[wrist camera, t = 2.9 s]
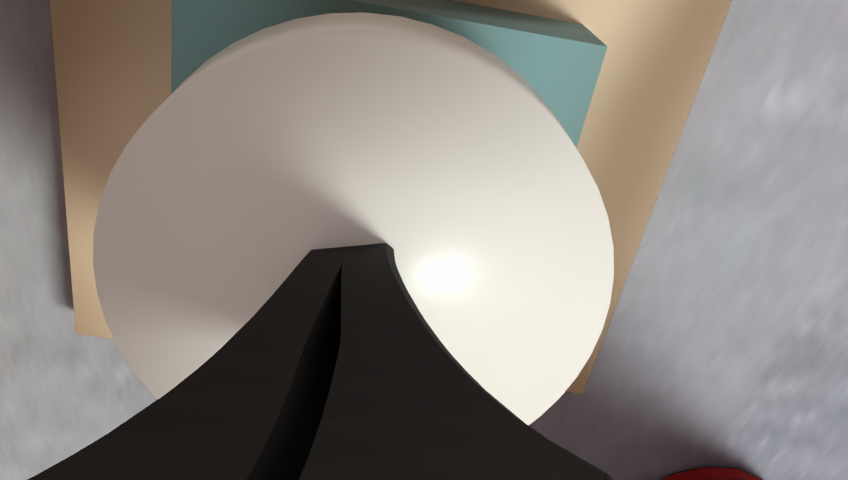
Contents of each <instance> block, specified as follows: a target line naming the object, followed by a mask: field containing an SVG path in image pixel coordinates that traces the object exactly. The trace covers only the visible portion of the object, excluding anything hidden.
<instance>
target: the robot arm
mask: <svg viewBox="0 0 848 480" xmlns="http://www.w3.org/2000/svg"><path fill="white" fill-rule="evenodd" d="M28 480H612V478H611V477H610V476H609V475H608V474H606V473H605V472H603V471H602V470H600V469H598V468H596V467H595V466H593V465H591V464H589V463H588V462H586V461H584V460H583V459H581V458H579V457H577V456H576V455H574V454H572V453H570V452H569V451H567V450H565V449H563V448H562V447H560V446H558V445H557V444H555V443H553V442H551V441H550V440H548V439H547V438H545V437H544V436H542V435H541V434H540V433H538V432H537V431H535V430H534V429H533V428H531V427H530V426H528V425H527V424H526V423H524V422H523V421H522V420H521V419H519V418H518V417H517V416H516V415H515V414H513V413H512V412H511V411H510V410H509V409H508V408H506V407H505V406H504V405H503V404H502V403H500V402H499V401H498V400H497V399H496V398H494V397H493V396H492V395H491V394H490V393H488V392H487V391H486V390H485V389H484V388H483V387H482V386H481V385H480V384H479V383H478V382H477V381H476V380H475V379H474V378H473V377H472V376H471V375H470V374H469V373H468V372H467V371H466V370H465V369H464V368H463V367H462V366H461V365H460V363H459V362H458V361H457V360H456V359H455V358H454V357H453V356H452V355H451V353H450V352H449V351H448V350H447V349H446V347H445V346H444V345H443V344H442V342H441V341H440V340H439V338H438V337H437V336H436V334H435V333H434V332H433V330H432V329H431V327H430V326H429V325H428V323H427V322H426V320H425V319H424V317H423V316H422V314H421V313H420V311H419V310H418V308H417V306H416V304H415V303H414V301H413V299H412V298H411V296H410V294H409V292H408V291H407V289H406V287H405V285H404V283H403V281H402V278H401V276H400V274H399V271H398V269H397V266H396V263H395V256H394V249H393V248H392V247H391V246H389V245H388V244H387V243H379V244H368V245H357V246H346V247H335V248H324V249H313V250H310V252H309V253H308V254H307V255H306V256H305V257H304V258H303V259H302V261H301V262H300V263H299V264H298V265H297V266H296V268H295V269H294V270H293V271H292V272H291V273H290V275H289V276H288V277H287V278H286V279H285V281H284V282H283V283H282V284H281V285H280V286H279V288H278V289H277V290H276V291H275V292H274V293H273V295H272V296H271V297H270V298H269V299H268V300H267V301H266V302H265V304H264V305H263V306H262V307H261V308H260V309H259V310H258V311H257V312H256V314H255V315H254V316H253V317H252V318H251V319H250V320H249V321H248V322H247V323H246V324H245V325H244V326H243V327H242V328H241V329H240V330H239V331H238V332H237V333H236V334H235V335H234V336H233V337H232V338H231V339H230V340H229V341H228V342H227V343H226V344H225V345H224V346H223V347H222V348H221V349H219V350H218V351H217V352H216V353H215V354H214V355H213V356H212V357H211V358H209V359H208V360H207V361H206V362H205V363H204V364H203V365H201V366H200V367H199V368H198V369H197V370H195V371H194V372H193V373H192V374H190V375H189V376H188V377H187V378H185V379H184V380H183V381H182V382H180V383H179V384H178V385H177V386H175V387H174V388H173V389H172V390H170V391H169V392H168V393H166V394H165V395H164V396H162V397H161V398H159V399H158V400H157V401H155V402H154V403H152V404H151V405H149V406H148V407H146V408H145V409H143V410H142V411H140V412H139V413H138V414H136V415H135V416H133V417H132V418H130V419H129V420H127V421H126V422H124V423H123V424H121V425H120V426H119V427H117V428H116V429H114V430H113V431H111V432H110V433H108V434H107V435H105V436H103V437H102V438H100V439H98V440H97V441H95V442H93V443H92V444H90V445H88V446H87V447H85V448H83V449H82V450H80V451H78V452H77V453H75V454H73V455H72V456H70V457H68V458H66V459H65V460H63V461H61V462H59V463H57V464H56V465H54V466H52V467H50V468H48V469H47V470H45V471H43V472H41V473H40V474H38V475H36V476H34V477H32V478H30V479H28Z"/></svg>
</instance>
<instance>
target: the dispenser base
mask: <svg viewBox="0 0 848 480" xmlns="http://www.w3.org/2000/svg"><path fill="white" fill-rule="evenodd" d="M731 2H732V0H50V13H51V26H52V39H53V51H54V64H55V77H56V90H57V102H58V115H59V128H60V141H61V153H62V166H63V179H64V192H65V204H66V217H67V230H68V243H69V255H70V268H71V281H72V294H73V306H74V319H75V332H76V334H81V335H89V336H98V337H106V338H113V336H112V334H111V332H110V330H109V328H108V325H107V323H106V321H105V318H104V315H103V311H102V308H101V305H100V301H99V298H98V295H97V290H96V282H95V275H94V268H93V234H94V228H95V223H96V217H97V212H98V207H99V202H100V200H101V197H102V194H103V191H104V189H105V186H106V183H107V180H108V178H109V175H110V173H111V171H112V169H113V167H114V166H115V164H116V162H117V160H118V159H119V157H120V155H121V153H122V152H123V150H124V148H125V146H126V145H127V143H128V142H129V141H130V140H131V138H132V137H133V136H134V135H135V133H136V132H137V131H138V130H139V129H140V127H141V126H142V125H143V124H144V122H145V121H146V120H147V119H148V118H149V116H150V115H151V114H152V113H153V112H154V111H155V110H156V109H157V108H158V107H159V106H160V105H161V104H162V103H163V102H164V101H165V100H166V99H167V98H168V97H169V96H170V95H171V94H172V93H173V92H174V91H175V90H176V89H177V88H178V87H179V86H180V84H181V83H182V82H183V81H185V80H186V79H187V78H188V77H189V76H190V75H191V74H192V73H193V72H194V71H196V70H197V69H198V68H199V67H200V66H201V65H202V64H203V63H204V62H205V61H207V60H208V59H210V58H211V57H213V56H214V55H216V54H217V53H219V52H220V51H222V50H223V49H225V48H226V47H228V46H229V45H231V44H232V43H234V42H236V41H238V40H241V39H243V38H245V37H247V36H249V35H251V34H253V33H255V32H258V31H260V30H262V29H264V28H268V27H271V26H274V25H277V24H280V23H284V22H287V21H290V20H293V19H298V18H304V17H310V16H316V15H322V14H328V13H362V12H365V13H374V14H383V15H392V16H400V17H404V18H408V19H412V20H416V21H420V22H424V23H428V24H432V25H435V26H438V27H440V28H443V29H445V30H448V31H450V32H453V33H455V34H458V35H460V36H463V37H465V38H467V39H469V40H470V41H472V42H474V43H476V44H477V45H479V46H481V47H483V48H484V49H486V50H488V51H490V52H492V53H493V54H495V55H496V56H497V57H499V58H500V59H501V60H503V61H504V62H505V63H506V64H508V65H509V66H510V67H512V68H513V69H514V70H516V71H517V72H518V73H519V74H520V75H521V76H522V77H523V78H524V79H525V80H526V81H527V82H528V83H529V84H530V85H531V86H532V87H533V88H534V89H535V90H536V91H537V92H538V93H539V94H540V95H541V96H542V98H543V99H544V100H545V102H546V103H547V104H548V106H549V107H550V109H551V110H552V111H553V113H554V114H555V115H556V117H557V118H558V119H559V121H560V123H561V124H562V126H563V128H564V129H565V131H566V132H567V134H568V136H569V137H570V139H571V140H572V142H573V144H574V145H575V147H576V149H577V150H578V152H579V153H580V155H581V157H582V158H583V160H584V162H585V164H586V166H587V168H588V170H589V171H590V173H591V175H592V177H593V179H594V181H595V183H596V185H597V187H598V189H599V192H600V194H601V197H602V200H603V203H604V206H605V209H606V212H607V215H608V218H609V224H610V230H611V235H612V241H613V247H614V279H613V287H612V294H611V301H610V306H609V309H608V313H607V316H606V320H605V323H604V326H603V330H602V332H601V334H600V336H599V339H598V341H597V343H596V345H595V347H594V350H593V352H592V354H591V356H590V357H589V359H588V361H587V362H586V364H585V365H584V367H583V368H582V370H581V372H580V373H579V375H578V376H577V378H576V379H575V380H574V381H573V383H572V384H571V385H570V386H569V387H568V389H567V390H566V391H565V392H567V393H576V394H583V392H584V389H585V387H586V384H587V381H588V379H589V376H590V373H591V371H592V368H593V365H594V363H595V360H596V358H597V355H598V352H599V350H600V347H601V344H602V342H603V339H604V336H605V334H606V331H607V329H608V326H609V323H610V321H611V318H612V315H613V313H614V310H615V308H616V305H617V302H618V300H619V297H620V294H621V292H622V289H623V286H624V284H625V281H626V279H627V276H628V273H629V271H630V268H631V265H632V263H633V260H634V257H635V255H636V252H637V250H638V247H639V244H640V242H641V239H642V236H643V234H644V231H645V228H646V226H647V223H648V221H649V218H650V215H651V213H652V210H653V207H654V205H655V202H656V200H657V197H658V194H659V192H660V189H661V186H662V184H663V181H664V178H665V176H666V173H667V171H668V168H669V165H670V163H671V160H672V157H673V155H674V152H675V149H676V147H677V144H678V142H679V139H680V136H681V134H682V131H683V128H684V126H685V123H686V120H687V118H688V115H689V113H690V110H691V107H692V105H693V102H694V99H695V97H696V94H697V91H698V89H699V86H700V84H701V81H702V78H703V76H704V73H705V70H706V68H707V65H708V63H709V60H710V57H711V55H712V52H713V49H714V47H715V44H716V41H717V39H718V36H719V34H720V31H721V28H722V26H723V23H724V20H725V18H726V15H727V12H728V10H729V7H730V5H731Z"/></svg>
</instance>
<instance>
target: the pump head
mask: <svg viewBox="0 0 848 480" xmlns="http://www.w3.org/2000/svg"><path fill="white" fill-rule="evenodd" d="M379 243H387V244H388V245H389V246H391V247H392V248H393V249H394V256H395V263H396V266H397V269H398V271H399V274H400V276H401V278H402V281H403V283H404V285H405V287H406V289H407V291H408V292H409V294H410V296H411V298H412V299H413V301H414V303H415V304H416V306H417V308H418V310H419V311H420V313H421V314H422V316H423V317H424V319H425V320H426V322H427V323H428V325H429V326H430V327H431V329H432V330H433V332H434V333H435V334H436V336H437V337H438V338H439V340H440V341H441V342H442V344H443V345H444V346H445V347H446V349H447V350H448V351H449V352H450V353H451V355H452V356H453V357H454V358H455V359H456V360H457V361H458V362H459V363H460V365H461V366H462V367H463V368H464V369H465V370H466V371H467V372H468V373H469V374H470V375H471V376H472V377H473V378H474V379H475V380H476V381H477V382H478V383H479V384H480V385H481V386H482V387H483V388H484V389H485V390H486V391H487V392H488V393H490V394H491V395H492V396H493V397H494V398H496V399H497V400H498V401H499V402H500V403H502V404H503V405H504V406H505V407H506V408H508V409H509V410H510V411H511V412H512V413H513V414H515V415H516V416H517V417H518V418H519V419H521V420H522V421H523V422H524V423H526V424H527V425H530V424H531V423H532V422H534V421H535V420H536V419H538V418H539V417H540V416H541V415H542V414H543V413H544V412H545V411H547V410H548V409H549V408H550V407H551V406H552V405H553V404H554V403H555V402H556V401H557V400H558V399H559V398H560V397H561V396H562V395H563V393H564V392H565V391H566V390H567V389H568V387H569V386H570V385H571V384H572V383H573V381H574V380H575V379H576V378H577V376H578V375H579V373H580V372H581V370H582V368H583V367H584V365H585V364H586V362H587V361H588V359H589V357H590V356H591V354H592V352H593V350H594V347H595V345H596V343H597V341H598V339H599V336H600V334H601V332H602V330H603V326H604V323H605V320H606V316H607V313H608V309H609V306H610V301H611V294H612V287H613V279H614V247H613V241H612V235H611V230H610V224H609V218H608V215H607V212H606V209H605V206H604V203H603V200H602V197H601V194H600V192H599V189H598V187H597V185H596V183H595V181H594V179H593V177H592V175H591V173H590V171H589V170H588V168H587V166H586V164H585V162H584V160H583V158H582V157H581V155H580V153H579V152H578V150H577V149H576V147H575V145H574V144H573V142H572V140H571V139H570V137H569V136H568V134H567V132H566V131H565V129H564V128H563V126H562V124H561V123H560V121H559V119H558V118H557V117H556V115H555V114H554V113H553V111H552V110H551V109H550V107H549V106H548V104H547V103H546V102H545V100H544V99H543V98H542V96H541V95H540V94H539V93H538V92H537V91H536V90H535V89H534V88H533V87H532V86H531V85H530V84H529V83H528V82H527V81H526V80H525V79H524V78H523V77H522V76H521V75H520V74H519V73H518V72H517V71H516V70H514V69H513V68H512V67H510V66H509V65H508V64H506V63H505V62H504V61H503V60H501V59H500V58H499V57H497V56H496V55H495V54H493V53H492V52H490V51H488V50H486V49H484V48H483V47H481V46H479V45H477V44H476V43H474V42H472V41H470V40H469V39H467V38H465V37H463V36H460V35H458V34H455V33H453V32H450V31H448V30H445V29H443V28H440V27H438V26H435V25H432V24H428V23H424V22H420V21H416V20H412V19H408V18H404V17H400V16H392V15H383V14H374V13H365V12H362V13H328V14H322V15H316V16H310V17H304V18H298V19H293V20H290V21H287V22H284V23H280V24H277V25H274V26H271V27H268V28H264V29H262V30H260V31H258V32H255V33H253V34H251V35H249V36H247V37H245V38H243V39H241V40H238V41H236V42H234V43H232V44H231V45H229V46H228V47H226V48H225V49H223V50H222V51H220V52H219V53H217V54H216V55H214V56H213V57H211V58H210V59H208V60H207V61H205V62H204V63H203V64H202V65H201V66H200V67H199V68H198V69H197V70H196V71H194V72H193V73H192V74H191V75H190V76H189V77H188V78H187V79H186V80H185V81H183V82H182V83H181V84H180V86H179V87H178V88H177V89H176V90H175V91H174V92H173V93H172V94H171V95H170V96H169V97H168V98H167V99H166V100H165V101H164V102H163V103H162V104H161V105H160V106H159V107H158V108H157V109H156V110H155V111H154V112H153V113H152V114H151V115H150V116H149V118H148V119H147V120H146V121H145V122H144V124H143V125H142V126H141V127H140V129H139V130H138V131H137V132H136V133H135V135H134V136H133V137H132V138H131V140H130V141H129V142H128V143H127V145H126V146H125V148H124V150H123V152H122V153H121V155H120V157H119V159H118V160H117V162H116V164H115V166H114V167H113V169H112V171H111V173H110V175H109V178H108V180H107V183H106V186H105V189H104V191H103V194H102V197H101V200H100V202H99V207H98V212H97V217H96V223H95V228H94V234H93V268H94V275H95V282H96V290H97V295H98V298H99V301H100V305H101V308H102V311H103V315H104V318H105V321H106V323H107V325H108V328H109V330H110V332H111V334H112V336H113V338H114V341H115V343H116V345H117V347H118V349H119V350H120V352H121V353H122V355H123V356H124V358H125V359H126V361H127V363H128V364H129V366H130V367H131V369H132V370H133V372H134V373H135V374H136V375H137V376H138V378H139V379H140V380H141V381H142V382H143V384H144V385H145V386H146V387H147V388H148V390H149V391H150V392H151V393H152V394H153V395H154V396H155V397H156V398H157V399H159V398H161V397H162V396H164V395H165V394H166V393H168V392H169V391H170V390H172V389H173V388H174V387H175V386H177V385H178V384H179V383H180V382H182V381H183V380H184V379H185V378H187V377H188V376H189V375H190V374H192V373H193V372H194V371H195V370H197V369H198V368H199V367H200V366H201V365H203V364H204V363H205V362H206V361H207V360H208V359H209V358H211V357H212V356H213V355H214V354H215V353H216V352H217V351H218V350H219V349H221V348H222V347H223V346H224V345H225V344H226V343H227V342H228V341H229V340H230V339H231V338H232V337H233V336H234V335H235V334H236V333H237V332H238V331H239V330H240V329H241V328H242V327H243V326H244V325H245V324H246V323H247V322H248V321H249V320H250V319H251V318H252V317H253V316H254V315H255V314H256V312H257V311H258V310H259V309H260V308H261V307H262V306H263V305H264V304H265V302H266V301H267V300H268V299H269V298H270V297H271V296H272V295H273V293H274V292H275V291H276V290H277V289H278V288H279V286H280V285H281V284H282V283H283V282H284V281H285V279H286V278H287V277H288V276H289V275H290V273H291V272H292V271H293V270H294V269H295V268H296V266H297V265H298V264H299V263H300V262H301V261H302V259H303V258H304V257H305V256H306V255H307V254H308V253H309V252H310V250H313V249H324V248H335V247H346V246H357V245H368V244H379Z"/></svg>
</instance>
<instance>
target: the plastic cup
mask: <svg viewBox="0 0 848 480" xmlns="http://www.w3.org/2000/svg"><path fill="white" fill-rule="evenodd" d="M661 480H762V479H761V478H758V477H756V476H753V475H751V474H748V473H746V472H743V471H741V470H738V469H736V468H712V467H702V468H698V469H693V470H689V471H685V472H680V473H676V474H672V475H669V476H667V477H665V478H663V479H661Z"/></svg>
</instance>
